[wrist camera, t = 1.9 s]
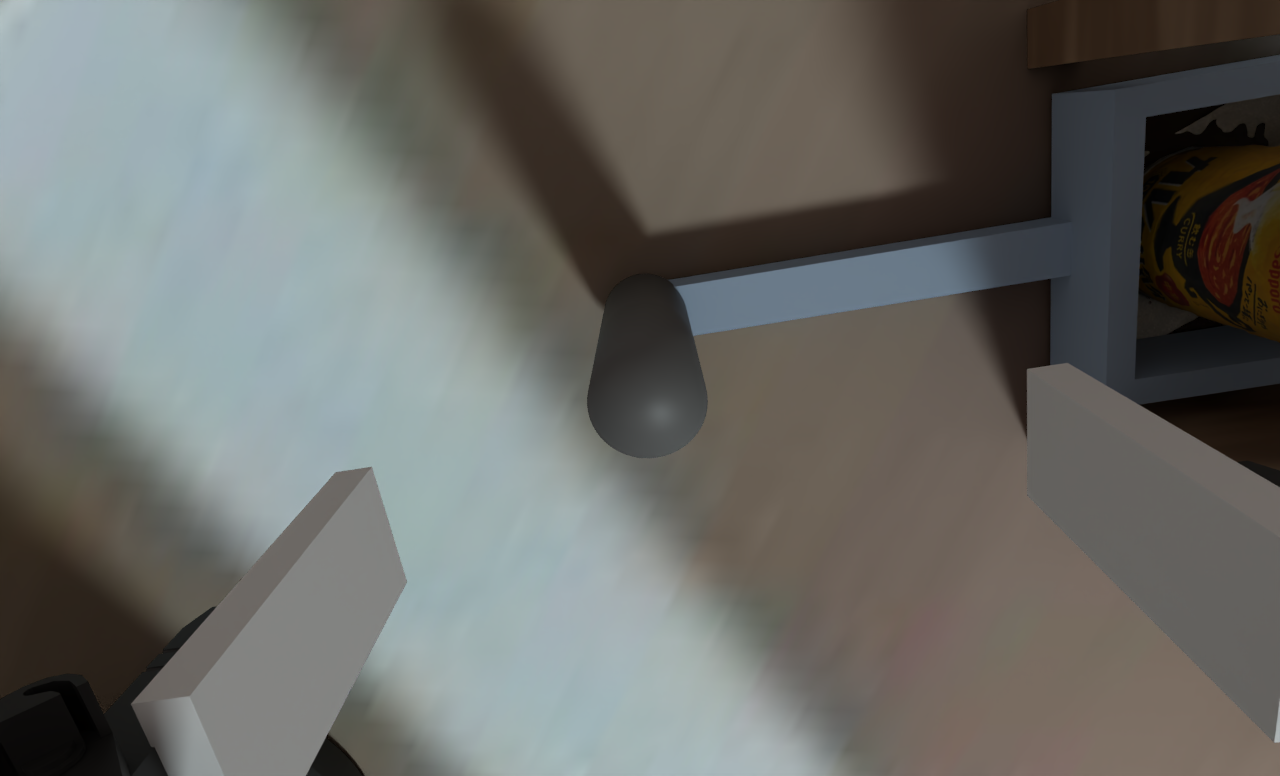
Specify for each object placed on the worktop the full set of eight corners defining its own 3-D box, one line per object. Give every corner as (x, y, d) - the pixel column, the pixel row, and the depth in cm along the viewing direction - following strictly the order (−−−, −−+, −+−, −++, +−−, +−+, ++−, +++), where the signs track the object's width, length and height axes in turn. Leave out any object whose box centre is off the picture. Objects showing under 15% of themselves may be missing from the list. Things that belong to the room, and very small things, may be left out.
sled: (629, 440, 33) (623, 587, 22) (580, 175, 29) (546, 204, 19) (1352, 329, 31) (1707, 432, 21) (1392, 35, 28) (1843, -18, 17)
